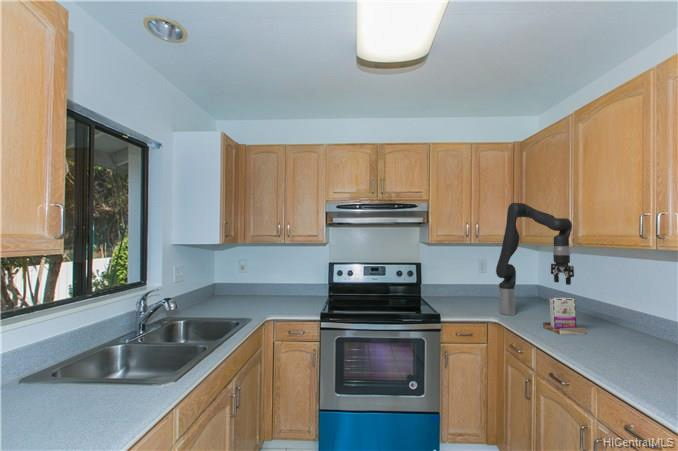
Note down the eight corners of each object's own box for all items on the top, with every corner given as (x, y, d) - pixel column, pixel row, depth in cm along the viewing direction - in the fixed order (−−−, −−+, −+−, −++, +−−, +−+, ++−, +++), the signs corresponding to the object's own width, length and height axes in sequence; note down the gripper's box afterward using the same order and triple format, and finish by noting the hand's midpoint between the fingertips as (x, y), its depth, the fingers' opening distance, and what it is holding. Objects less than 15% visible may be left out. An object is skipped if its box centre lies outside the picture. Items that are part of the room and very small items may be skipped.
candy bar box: (571, 326, 180) (570, 297, 181) (576, 329, 175) (575, 299, 176) (550, 326, 182) (549, 297, 183) (554, 328, 177) (553, 298, 178)
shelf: (543, 327, 185) (542, 322, 185) (566, 326, 186) (566, 321, 186) (560, 335, 171) (560, 328, 171) (585, 334, 172) (585, 328, 172)
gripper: (578, 254, 173) (579, 285, 172) (558, 253, 187) (559, 281, 186) (564, 255, 172) (565, 285, 172) (546, 253, 186) (546, 281, 186)
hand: (562, 283), depth 179 cm, fingers open, 8 cm apart
